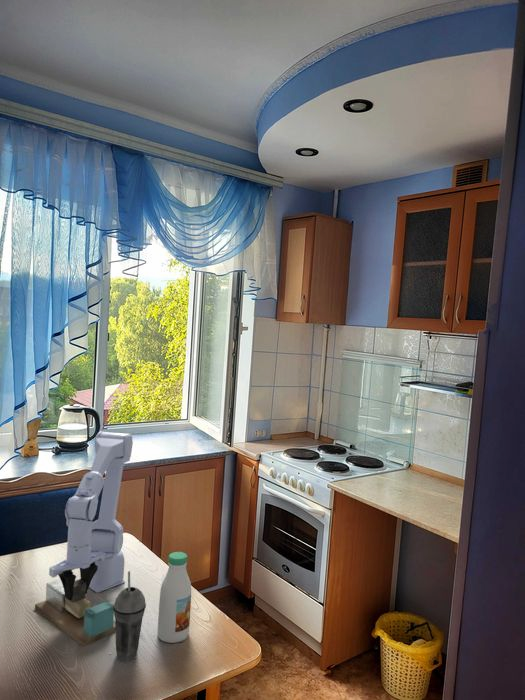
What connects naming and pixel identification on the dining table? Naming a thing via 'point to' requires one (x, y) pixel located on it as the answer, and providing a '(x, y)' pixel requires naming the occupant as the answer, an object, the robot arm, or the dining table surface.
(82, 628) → the base board
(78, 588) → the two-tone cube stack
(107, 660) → the dining table surface
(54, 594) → the sleeve
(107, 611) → the socket
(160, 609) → the milk bottle
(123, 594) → the beverage cup
